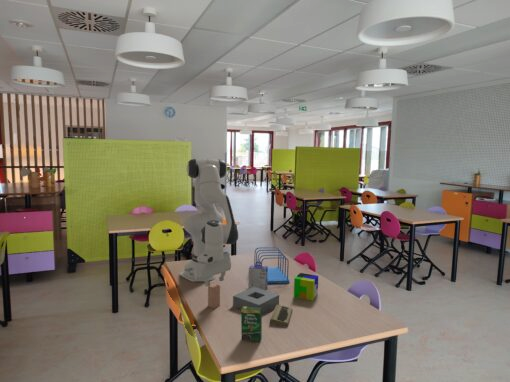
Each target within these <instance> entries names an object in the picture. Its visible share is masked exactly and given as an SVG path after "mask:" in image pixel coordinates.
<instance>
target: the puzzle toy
mask: <svg viewBox="0 0 510 382" xmlns="http://www.w3.org/2000/svg"><path fill="white" fill-rule="evenodd" d="M293 281H294V282H293V298H298V299H303V300H308V301H314V300H315V298H316V297H317V295H318V293H319V275H316V274H309V273H303V272H299V274H297V276H295V277H294V279H293Z"/></svg>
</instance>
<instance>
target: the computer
mask: <svg viewBox="0 0 510 382" xmlns="http://www.w3.org/2000/svg"><path fill="white" fill-rule="evenodd" d="M273 309H274V310H273V312H272V315H271V316H270V320H269V325H270V326H278V327H286V328H287V327H288V326H289V323H290V320H291V317H292V313H293V308H292V307H290V306H286V305H282V304H279V305H276V306H275V307H274V308H273Z"/></svg>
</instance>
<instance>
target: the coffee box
mask: <svg viewBox="0 0 510 382" xmlns="http://www.w3.org/2000/svg"><path fill="white" fill-rule="evenodd" d="M240 313H241V314H240V318H241V319H240V320H241V321H240V323H241V325H240V326H241V340H242V341H247V342H255V343H261V342H262V339H263V338H262V336H263V334H262V333H263V332H262V327H263V326H262V325H263V324H262V322H263V321H262V315H263V314H262V308H254V307H245V306H243V307H242V309H240Z"/></svg>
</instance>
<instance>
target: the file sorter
mask: <svg viewBox="0 0 510 382" xmlns="http://www.w3.org/2000/svg"><path fill="white" fill-rule="evenodd" d="M258 249H259V250H258ZM259 252H260V253H259ZM261 254H262V255H261ZM254 255H255V256H254V261H253V263H254V264H253V266H255V264H256V262H262V263H263V261H264V260H268V259H270V260H271V259H278V260H277V267H276V266H275V267H273V266H271V267H270V266H268V279H267V285H268V284H270V285H271V284H290V279H289V265H290V264H289V259H288V258H287V257H286V256H285V255H284V253H283V252H282V251H281V250H280V249H279V248H278V247H276V246H273V247H270V246H269V247H267V246H265V247H257V248H255V250H254ZM272 256H273V257H272ZM277 256H278V257H277ZM262 257H264V258H262ZM261 258H262V259H261ZM258 265H261V264H260V263H258Z"/></svg>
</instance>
